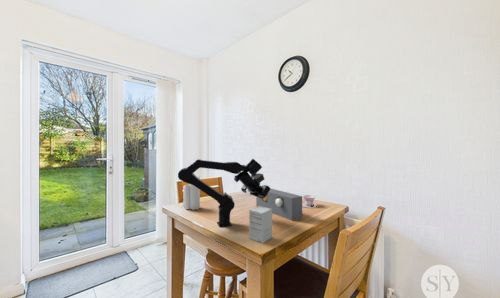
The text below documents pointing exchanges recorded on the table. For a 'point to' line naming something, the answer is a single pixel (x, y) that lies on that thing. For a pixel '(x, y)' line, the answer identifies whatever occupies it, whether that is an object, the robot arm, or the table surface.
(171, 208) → the table surface
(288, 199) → the console
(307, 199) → the teacup
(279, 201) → the cream button
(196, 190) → the candle
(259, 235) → the supplement box
